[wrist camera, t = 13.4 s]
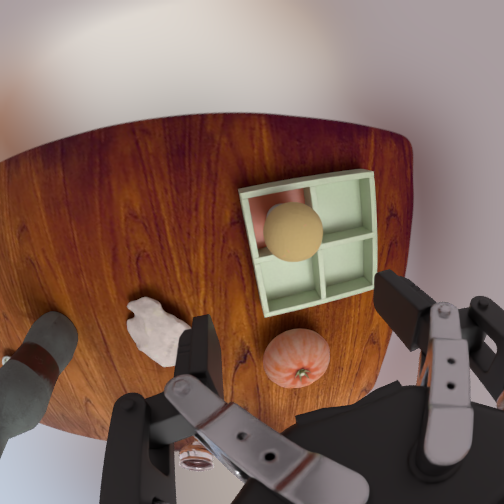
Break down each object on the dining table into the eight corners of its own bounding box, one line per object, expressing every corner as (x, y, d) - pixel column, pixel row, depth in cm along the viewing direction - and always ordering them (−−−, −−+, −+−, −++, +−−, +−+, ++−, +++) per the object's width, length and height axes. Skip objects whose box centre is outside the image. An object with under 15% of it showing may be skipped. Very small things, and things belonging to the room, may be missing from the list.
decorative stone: (119, 290, 38) (145, 357, 45) (108, 305, 34) (139, 373, 41) (186, 290, 37) (203, 361, 44) (179, 307, 34) (199, 378, 41)
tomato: (255, 366, 46) (261, 400, 38) (265, 316, 42) (275, 350, 35) (312, 365, 47) (325, 396, 40) (329, 318, 44) (347, 348, 36)
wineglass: (188, 407, 48) (186, 455, 37) (217, 415, 50) (220, 462, 39) (176, 421, 50) (173, 466, 39) (204, 429, 52) (205, 473, 41)
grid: (237, 188, 35) (239, 193, 31) (360, 168, 35) (373, 171, 32) (260, 304, 41) (264, 317, 38) (366, 278, 42) (376, 288, 38)
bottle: (71, 356, 41) (17, 484, 14) (35, 327, 38) (-37, 444, 10) (88, 331, 40) (22, 480, 12) (49, 298, 37) (-43, 429, 9)
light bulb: (255, 241, 36) (268, 273, 27) (254, 192, 34) (268, 209, 25) (302, 238, 37) (329, 269, 28) (304, 192, 35) (334, 208, 26)
